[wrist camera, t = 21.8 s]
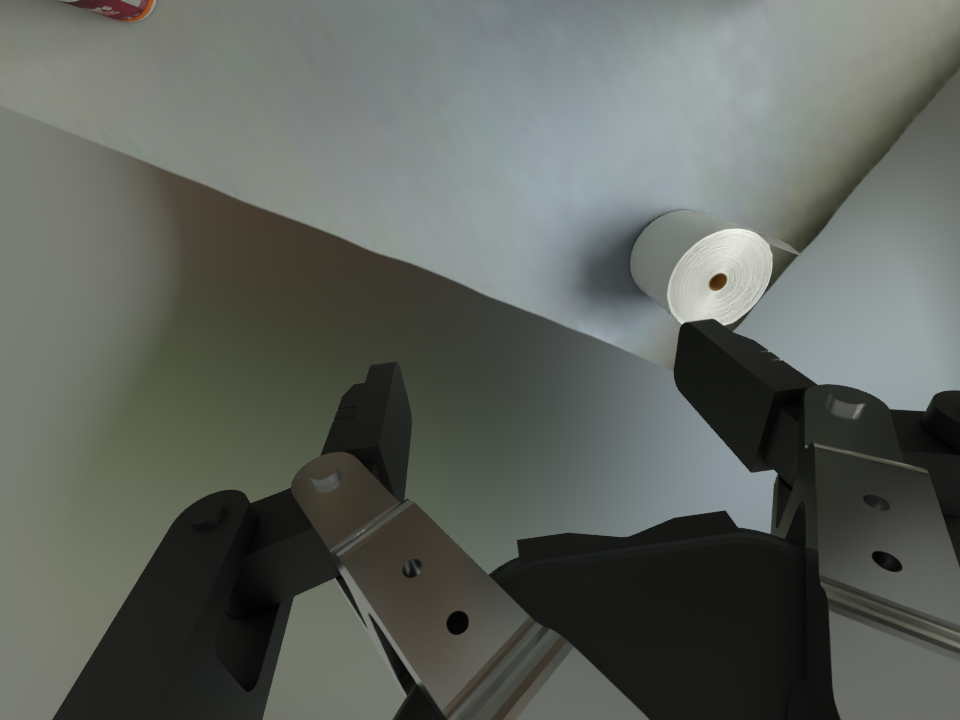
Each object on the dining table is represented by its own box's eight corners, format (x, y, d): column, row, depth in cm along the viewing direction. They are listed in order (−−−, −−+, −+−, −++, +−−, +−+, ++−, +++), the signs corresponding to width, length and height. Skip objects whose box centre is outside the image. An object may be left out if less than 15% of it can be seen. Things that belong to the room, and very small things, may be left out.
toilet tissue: (610, 265, 50) (645, 294, 42) (687, 178, 46) (743, 191, 37) (667, 311, 54) (709, 347, 45) (742, 235, 50) (805, 259, 41)
